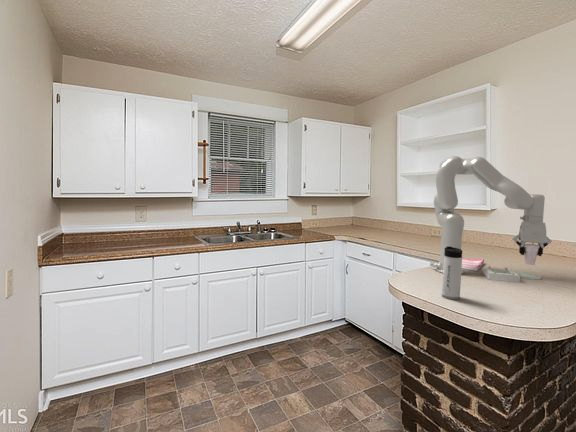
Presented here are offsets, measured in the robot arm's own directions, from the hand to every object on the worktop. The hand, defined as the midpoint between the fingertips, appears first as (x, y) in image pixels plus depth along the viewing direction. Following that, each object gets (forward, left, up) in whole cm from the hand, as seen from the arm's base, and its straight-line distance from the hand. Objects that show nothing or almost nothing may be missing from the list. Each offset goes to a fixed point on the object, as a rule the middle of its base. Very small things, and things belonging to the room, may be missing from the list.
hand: (530, 254), depth 148 cm
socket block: (-14, -8, -11) cm, 20 cm away
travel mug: (-41, -49, -11) cm, 64 cm away
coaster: (0, 0, -11) cm, 11 cm away
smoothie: (0, 0, -5) cm, 5 cm away
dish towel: (-26, +14, -12) cm, 32 cm away
